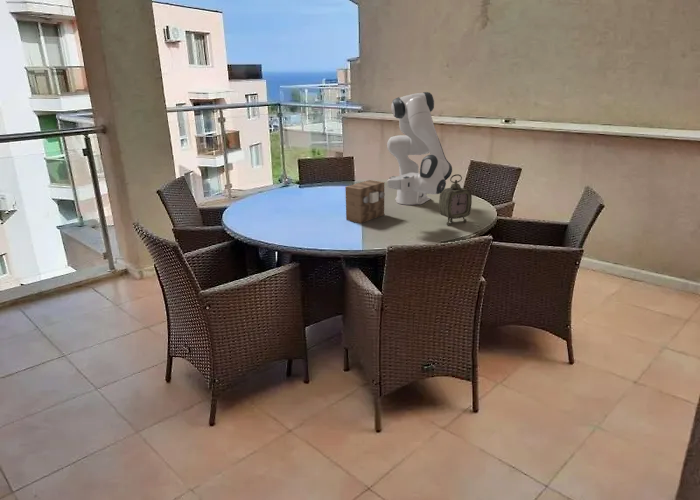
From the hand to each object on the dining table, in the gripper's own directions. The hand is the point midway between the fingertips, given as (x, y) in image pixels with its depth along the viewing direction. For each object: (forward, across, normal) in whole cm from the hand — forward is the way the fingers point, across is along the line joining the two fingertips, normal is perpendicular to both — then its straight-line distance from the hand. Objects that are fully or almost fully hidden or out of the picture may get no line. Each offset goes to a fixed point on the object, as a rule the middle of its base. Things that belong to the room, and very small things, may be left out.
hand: (391, 178), depth 244 cm
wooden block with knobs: (+15, +2, +23) cm, 28 cm away
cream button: (+11, +2, +14) cm, 18 cm away
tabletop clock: (-26, -18, +23) cm, 40 cm away
